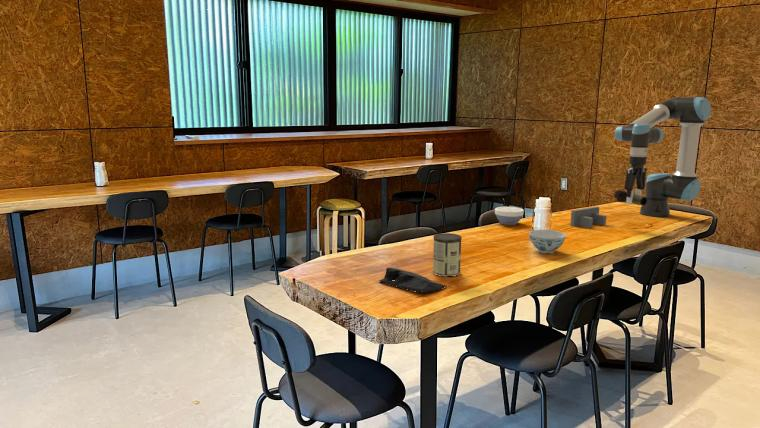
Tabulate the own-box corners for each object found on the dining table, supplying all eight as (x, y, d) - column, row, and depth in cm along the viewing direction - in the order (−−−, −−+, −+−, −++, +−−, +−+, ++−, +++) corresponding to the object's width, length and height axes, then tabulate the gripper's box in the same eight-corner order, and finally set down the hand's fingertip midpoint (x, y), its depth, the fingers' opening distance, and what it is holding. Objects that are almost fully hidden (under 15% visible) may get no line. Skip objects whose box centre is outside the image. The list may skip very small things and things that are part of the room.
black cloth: (418, 299, 179) (419, 285, 178) (375, 282, 196) (375, 269, 195) (450, 289, 189) (451, 276, 188) (406, 273, 206) (406, 261, 205)
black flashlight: (647, 205, 267) (648, 194, 265) (637, 206, 264) (638, 194, 263) (618, 199, 283) (619, 188, 281) (608, 200, 280) (609, 189, 279)
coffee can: (443, 267, 212) (444, 231, 209) (465, 272, 205) (467, 236, 202) (426, 273, 205) (427, 236, 202) (449, 279, 198) (451, 241, 195)
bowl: (528, 223, 286) (529, 209, 285) (513, 228, 276) (514, 213, 274) (503, 219, 296) (504, 205, 295) (488, 223, 286) (489, 209, 284)
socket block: (594, 221, 293) (596, 206, 291) (609, 224, 285) (611, 209, 284) (570, 225, 282) (571, 210, 280) (585, 229, 275) (586, 213, 273)
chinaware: (549, 245, 244) (550, 228, 242) (572, 254, 230) (573, 236, 229) (520, 248, 239) (521, 231, 237) (542, 257, 225) (543, 239, 223)
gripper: (633, 157, 258) (628, 206, 263) (656, 156, 268) (651, 202, 273) (619, 156, 264) (614, 203, 269) (642, 154, 274) (637, 200, 279)
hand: (633, 203), depth 271 cm, fingers closed on black flashlight, 6 cm apart
